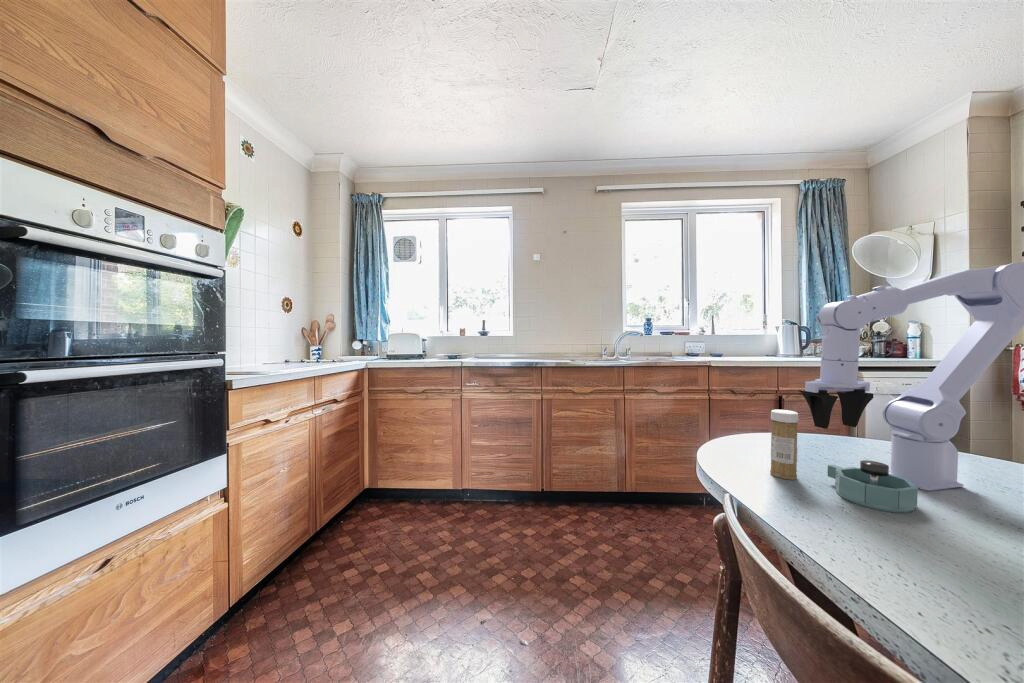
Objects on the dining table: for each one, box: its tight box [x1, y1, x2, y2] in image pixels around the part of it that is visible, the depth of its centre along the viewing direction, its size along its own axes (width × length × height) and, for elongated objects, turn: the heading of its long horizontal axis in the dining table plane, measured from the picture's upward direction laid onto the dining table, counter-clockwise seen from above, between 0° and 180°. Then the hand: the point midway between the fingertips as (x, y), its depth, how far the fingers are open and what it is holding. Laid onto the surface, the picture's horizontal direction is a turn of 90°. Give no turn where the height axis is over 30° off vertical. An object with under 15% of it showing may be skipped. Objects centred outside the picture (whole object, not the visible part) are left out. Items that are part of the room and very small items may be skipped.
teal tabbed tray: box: [827, 464, 919, 514], centre depth 67 cm, size 10×12×4 cm
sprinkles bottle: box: [769, 409, 799, 481], centre depth 76 cm, size 5×5×13 cm
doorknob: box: [859, 459, 890, 487], centre depth 66 cm, size 7×7×5 cm
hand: (835, 426), depth 76 cm, fingers open, 7 cm apart
